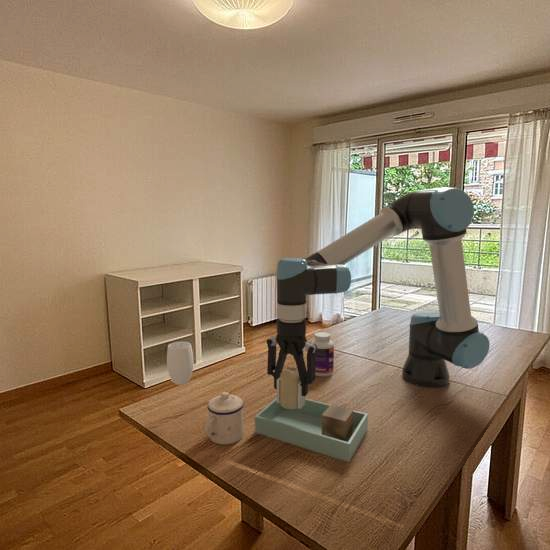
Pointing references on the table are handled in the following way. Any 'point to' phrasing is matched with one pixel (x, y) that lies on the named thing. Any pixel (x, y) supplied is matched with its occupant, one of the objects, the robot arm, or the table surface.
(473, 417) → the table surface
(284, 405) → the candle
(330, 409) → the walnut block
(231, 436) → the teacup with lid
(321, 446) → the tote
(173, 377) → the grey rounded cylinder
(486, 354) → the robot arm
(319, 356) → the pill bottle
